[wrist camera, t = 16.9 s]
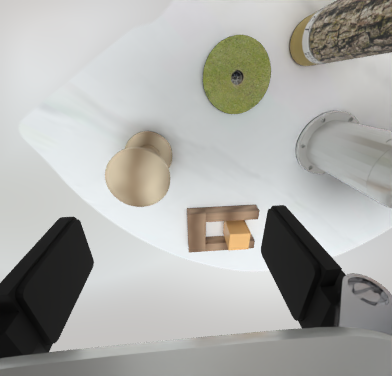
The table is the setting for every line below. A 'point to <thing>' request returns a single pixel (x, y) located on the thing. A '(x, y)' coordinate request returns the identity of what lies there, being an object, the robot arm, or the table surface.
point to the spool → (140, 170)
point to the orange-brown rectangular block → (236, 234)
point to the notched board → (213, 214)
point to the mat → (236, 74)
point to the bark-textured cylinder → (343, 32)
